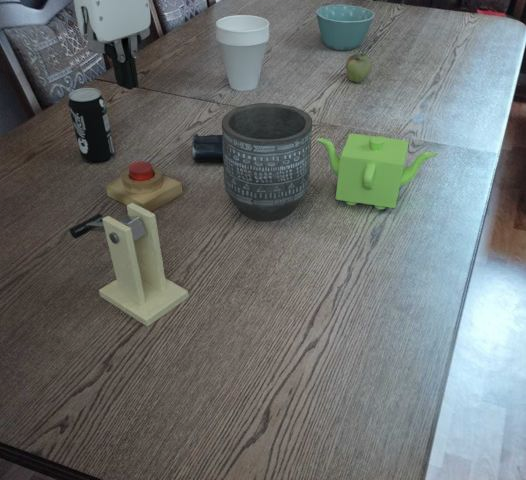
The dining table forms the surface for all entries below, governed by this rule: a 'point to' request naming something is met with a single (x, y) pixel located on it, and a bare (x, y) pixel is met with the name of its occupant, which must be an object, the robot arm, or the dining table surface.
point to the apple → (357, 67)
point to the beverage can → (91, 125)
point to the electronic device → (207, 148)
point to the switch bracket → (139, 270)
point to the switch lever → (97, 225)
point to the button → (141, 171)
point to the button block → (144, 190)
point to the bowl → (343, 25)
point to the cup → (243, 48)
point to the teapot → (372, 169)
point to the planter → (266, 159)
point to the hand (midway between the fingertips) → (128, 85)
